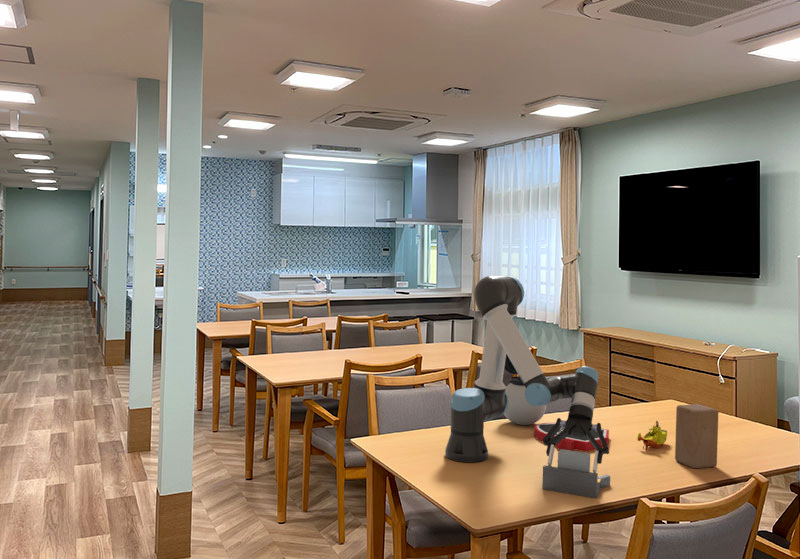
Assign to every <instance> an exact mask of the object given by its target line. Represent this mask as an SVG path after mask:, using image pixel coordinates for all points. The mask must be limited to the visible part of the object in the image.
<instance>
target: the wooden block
mask: <svg viewBox="0 0 800 559" xmlns="http://www.w3.org/2000/svg"><path fill="white" fill-rule="evenodd" d="M675 410H676V411H675V412H676V414H675V415H676V416H675V441H674V442H675V446H674V448H675V449H674V459H675V461H676V462H678V463H681V464H683V465H685V466H687V467H689V468H692V469H704V468H714V467H717V465H718V445H719V444H718V441H719V439H718V436H719V433H718V432H719V410H718V409H716V408H713V407H712V408H711V407H709V406H705V405H702V404H698V403H697V404H696V403H695V404H694V403H693V404H678V405H677V406H676V409H675Z"/></svg>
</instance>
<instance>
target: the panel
mask: <svg viewBox="0 0 800 559" xmlns="http://www.w3.org/2000/svg"><path fill="white" fill-rule="evenodd" d="M557 467H559V468H566V469H572V470H579V471H585V472H591V452H585V451H579V450H572V451H571V450H565V449H559V451H558V452H557Z"/></svg>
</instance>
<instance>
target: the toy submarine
mask: <svg viewBox="0 0 800 559" xmlns="http://www.w3.org/2000/svg"><path fill="white" fill-rule="evenodd" d="M648 430H649V431H648V432H647V433H645V435H644V436H642V434H641V432H638V434H637V441H638V442H641V441H642V442H643V444H644V445H643V446H642V449H643V450H645V452H648V449H649V447H650V448H655V449H658V448H661V447H663V446H664V445H665V443H666V441H667V438H668V430H665V429H662V428H661V426H659V421H658V420H656V421H655V423H654V425H653V426H652V428H648Z"/></svg>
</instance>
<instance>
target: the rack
mask: <svg viewBox="0 0 800 559" xmlns="http://www.w3.org/2000/svg"><path fill="white" fill-rule="evenodd" d="M598 475H599V473H597V472H596V473H593V471H592V472H591V471H590V472H585V471H579V470H572V469H566V468H559V467H558V466H548V465H547V464H546V465H545V464H544V465H543V466H542V484H541V486H542V487H541V488H542V490H543V491H544V490H546V491H551V492H556V493H561V494H562V493H563V494H568V495H569V494H570V495H573V496H574V495H575V496H581V497H586V498H593V499H598V496H599V494H600V492H601V490H602V489H604V488H606V487H609V486H611V475H609V474H604V475H600V476H598Z"/></svg>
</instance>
